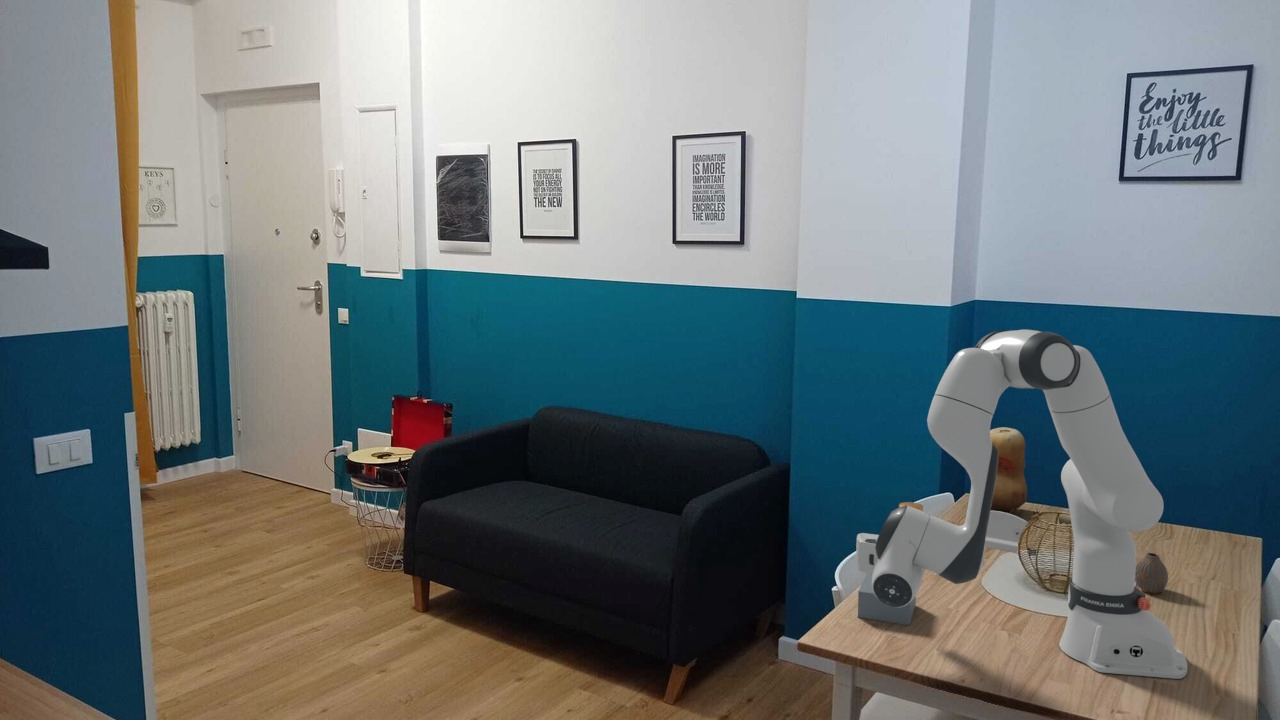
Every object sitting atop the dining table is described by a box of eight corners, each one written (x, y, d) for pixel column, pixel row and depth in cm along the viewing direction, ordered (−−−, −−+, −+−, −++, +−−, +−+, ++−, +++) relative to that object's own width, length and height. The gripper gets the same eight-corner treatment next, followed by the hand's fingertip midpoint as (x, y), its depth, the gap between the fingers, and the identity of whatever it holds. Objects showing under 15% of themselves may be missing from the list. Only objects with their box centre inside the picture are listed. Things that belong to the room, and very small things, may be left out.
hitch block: (915, 605, 206) (916, 580, 205) (909, 625, 196) (910, 598, 196) (866, 597, 211) (866, 573, 210) (857, 617, 201) (858, 591, 200)
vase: (1159, 599, 208) (1162, 562, 207) (1128, 589, 213) (1130, 553, 212) (1171, 590, 213) (1174, 554, 211) (1140, 582, 218) (1143, 546, 216)
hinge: (960, 542, 246) (966, 505, 247) (965, 543, 249) (970, 506, 251) (1026, 555, 236) (1031, 516, 237) (1030, 555, 240) (1035, 517, 241)
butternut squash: (974, 515, 267) (978, 432, 264) (977, 502, 280) (980, 422, 276) (1025, 520, 262) (1030, 436, 258) (1026, 507, 274) (1030, 425, 270)
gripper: (958, 552, 175) (963, 529, 188) (851, 539, 183) (862, 518, 196) (957, 583, 176) (961, 558, 189) (850, 569, 184) (861, 547, 197)
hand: (910, 538), depth 193 cm, fingers closed on lynch pin, 3 cm apart
